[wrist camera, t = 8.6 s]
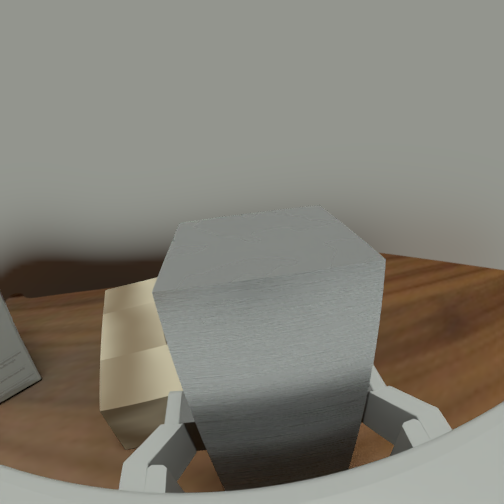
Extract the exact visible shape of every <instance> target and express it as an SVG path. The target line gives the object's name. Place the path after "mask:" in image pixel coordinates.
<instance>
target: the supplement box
mask: <svg viewBox="0 0 504 504" xmlns="http://www.w3.org/2000/svg"><path fill="white" fill-rule="evenodd" d="M39 380H41V376H40V374H39V372H38V370H37V368H36V367H35V365H34V363H33V361H32V359H31V357H30V355H29V353H28V351H27V349H26V347H25V345H24V343H23V341H22V339H21V337H20V335H19V333H18V331H17V329H16V327H15V324H14V322H13V320H12V318H11V315H10V313H9V311H8V308H7V306H6V303H5V301H4V299H3V296H2V294H1V291H0V403H1V402H2V401H4V400H6V399H8V398H9V397H11V396H13V395H15V394H16V393H18V392H20V391H21V390H23V389H25V388H26V387H28V386H30V385H32V384H34V383H35V382H37V381H39Z"/></svg>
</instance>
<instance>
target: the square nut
mask: <svg viewBox="0 0 504 504" xmlns="http://www.w3.org/2000/svg"><path fill="white" fill-rule="evenodd" d="M157 278H158V277H157ZM157 278H154V279H149V280H145V281H142V282H137V283H134V284H129V285H125V286H121V287H117V288H113V289H109V290H106V291H105V301H104V311H103V323H102V338H101V357H100V412H101V414H102V415H103V417H104V418H105V420H106V422H107V423H108V425H109V426H110V428H111V429H112V431H113V432H114V434H115V435H116V437H117V438H118V439H119V441H120V442H121V444H122V445H123V446H124V448H125V449H126V450H127V449H132V448H137V447H139V446H140V445H141V444H142V443H143V442H144V441H145V440H146V439H147V438H148V437H149V436H150V435H151V434H152V433H153V432H154V431H155V430H156V429H157V428H158V427H159V426H160V425H161V424H164V423H165V415H166V408H167V400H168V394H169V392H170V391H183V389H182V386H181V383H180V380H179V377H178V375H177V372H176V369H175V366H174V363H173V360H172V357H171V354H170V351H169V348H168V345H167V342H166V338H165V335H164V332H163V329H162V325H161V322H160V319H159V315H158V312H157V308H156V305H155V301H154V298H153V294H152V291H153V288H154V285H155V283H156V280H157Z"/></svg>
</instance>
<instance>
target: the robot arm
mask: <svg viewBox="0 0 504 504" xmlns="http://www.w3.org/2000/svg"><path fill="white" fill-rule="evenodd" d="M362 422H363V423H364V424H365V425H366V426H368V427H369V428H371V429H372V430H373V431H375V432H376V433H378V434H379V435H380V436H382V437H383V438H385V439H386V440H388V441H389V442H391V443H392V444H393V445H394V448H393V450H392V452H391V454H390V457H387V458H384V459H381V460H378V461H375V462H372V463H369V464H366V465H362V466H359V467H356V468H352V469H349V470H345V471H341V472H338V473H334V474H330V475H326V476H321V477H317V478H312V479H308V480H303V481H298V482H292V483H287V484H281V485H275V486H268V487H261V488H253V489H244V490H234V491H221V492H202V493H185V492H184V491H183V490H182V488H181V487H180V486H179V484H178V483H177V481H178V479H179V478H180V476H181V475H182V473H183V472H184V470H185V469H186V467H187V466H188V464H189V463H190V461H191V460H192V458H193V457H194V455H195V454H196V451H200V450H207V449H206V447H205V445H204V442H203V440H202V438H201V435H200V433H199V430H198V428H197V425H196V423H195V420H194V418H193V415H192V413H191V410H190V407H189V405H188V402H187V400H186V397H185V394H184V391H170V392H169V394H168V400H167V408H166V415H165V423H164V424H161V425H160V426H159V427H158V428H157V429H156V430H155V431H154V432H153V433H152V434H151V435H150V436H149V437H148V438H147V439H146V440H145V441H144V442H143V443H142V444H141V445H140V446H139V447H138V449H137V450H136V451H135V452H134V453H133V454H132V455H131V456H130V457H129V458H128V459H127V460H126V461H125V462H124V463H123V468H122V474H121V479H120V485H119V490H116V489H107V488H99V487H92V486H86V485H80V484H74V483H69V482H64V481H59V480H55V479H50V478H46V477H42V476H38V475H34V474H30V473H27V472H23V471H20V470H17V469H13V468H10V467H7V466H4V465H0V504H504V402H502V403H500V404H499V405H497V406H495V407H494V408H492V409H490V410H489V411H487V412H485V413H483V414H482V415H480V416H478V417H476V418H475V419H473V420H471V421H469V422H467V423H465V424H463V425H461V426H459V427H457V428H455V429H453V430H452V429H451V427H450V426H449V424H448V423H447V421H446V420H445V418H444V417H443V415H442V414H441V412H440V411H439V409H438V408H436V407H434V406H432V405H430V404H428V403H425V402H423V401H421V400H419V399H417V398H415V397H413V396H410V395H408V394H406V393H404V392H402V391H400V390H398V389H396V388H394V387H392V386H387V387H386V385H385V383H384V381H383V380H382V378H381V376H380V375H379V373H378V371H377V370H376V368H375V367H374V365H373V367H372V372H371V378H370V383H369V388H368V393H367V398H366V403H365V407H364V412H363V416H362V420H361V423H362Z"/></svg>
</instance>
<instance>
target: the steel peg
mask: <svg viewBox="0 0 504 504" xmlns="http://www.w3.org/2000/svg"><path fill="white" fill-rule="evenodd" d="M385 261H386V259H385V258H384V257H383V256H381V255H380V254H379V253H378V252H377V251H375V250H374V249H373V248H372V247H371V246H370V245H368V244H367V243H366V242H365V241H364V240H363V239H361V238H360V237H359V236H358V235H356V234H355V233H354V232H353V231H352V230H350V229H349V228H348V227H347V226H345V225H344V224H343V223H342V222H340V221H339V220H338V219H337V218H336V217H334V216H333V215H332V214H330V213H329V212H328V211H327V210H325V209H324V208H323V207H322V206H320V205H317V206H308V207H299V208H290V209H281V210H273V211H266V212H257V213H249V214H241V215H233V216H226V217H218V218H212V219H204V220H197V221H190V222H183V223H179V226H178V228H177V230H176V233H175V235H174V238H173V240H172V242H171V245H170V248H169V250H168V252H167V255H166V257H165V260H164V262H163V265H162V267H161V270H160V272H159V275H158V278H157V280H156V283H155V285H154V288H153V291H152V294H153V298H154V301H155V305H156V308H157V312H158V315H159V319H160V322H161V325H162V329H163V332H164V335H165V338H166V342H167V345H168V348H169V351H170V354H171V357H172V360H173V363H174V366H175V369H176V372H177V375H178V377H179V380H180V383H181V386H182V389H183V391H184V394H185V397H186V400H187V402H188V405H189V407H190V410H191V413H192V415H193V418H194V420H195V423H196V425H197V428H198V430H199V433H200V435H201V438H202V440H203V442H204V445H205V447H206V449H207V452H208V454H209V456H210V459H211V461H212V463H213V465H214V468H215V470H216V472H217V474H218V476H219V479H220V481H221V483H222V485H223V487H224V489H225V491H234V490H244V489H253V488H261V487H268V486H275V485H281V484H287V483H292V482H298V481H303V480H308V479H312V478H317V477H321V476H326V475H330V474H334V473H338V472H341V471H345V470H348V469H349V466H350V462H351V459H352V455H353V451H354V448H355V444H356V440H357V436H358V433H359V429H360V424H361V420H362V416H363V412H364V407H365V403H366V398H367V393H368V388H369V383H370V378H371V372H372V367H373V361H374V355H375V349H376V343H377V336H378V329H379V321H380V313H381V305H382V296H383V285H384V274H385Z"/></svg>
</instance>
